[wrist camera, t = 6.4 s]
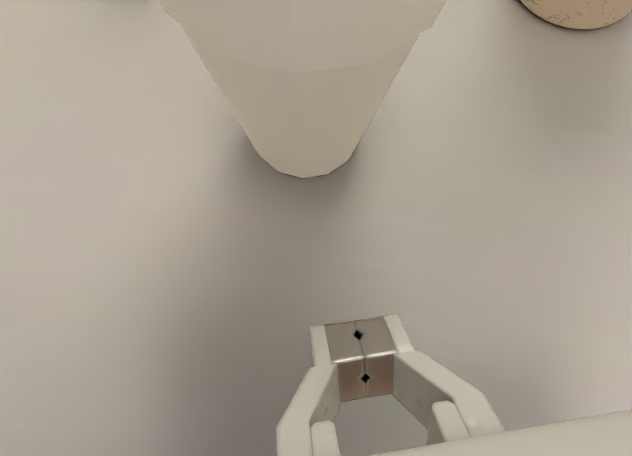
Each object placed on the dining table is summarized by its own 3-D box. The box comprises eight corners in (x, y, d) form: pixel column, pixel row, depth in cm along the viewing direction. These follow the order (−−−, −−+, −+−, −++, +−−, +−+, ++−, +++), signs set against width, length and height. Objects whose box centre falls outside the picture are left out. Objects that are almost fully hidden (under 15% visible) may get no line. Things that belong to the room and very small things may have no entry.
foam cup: (368, 50, 23) (443, -291, 10) (404, 188, 20) (558, -37, 8) (214, 70, 22) (94, -266, 10) (232, 216, 20) (105, 19, 7)
